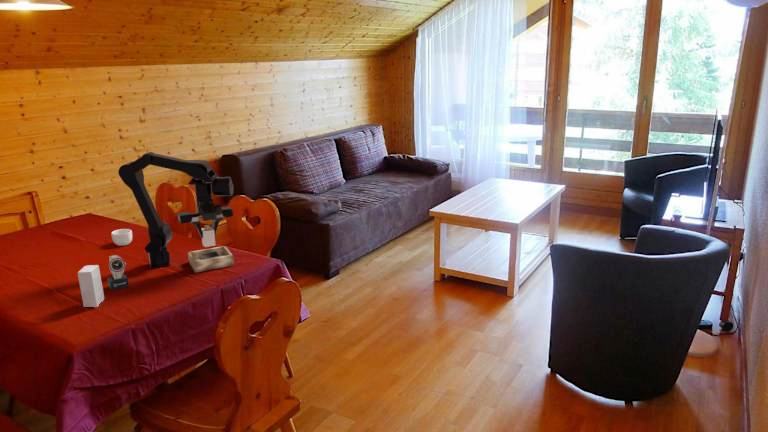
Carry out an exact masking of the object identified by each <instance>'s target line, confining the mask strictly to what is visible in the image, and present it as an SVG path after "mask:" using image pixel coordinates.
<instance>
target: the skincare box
mask: <svg viewBox="0 0 768 432" xmlns="http://www.w3.org/2000/svg"><path fill="white" fill-rule="evenodd" d="M77 277H78V278H77V279H78V282H79V283H78V284H79V288H80V294H81V299H82V304H83V305H82V306H83V308H84V307H94V308H99V306H100V305H101V304H102V303H103V301H104V300H105V294H104V288H103V283H102V277H101V271H100V266H99V264H93V265H91V264H90V265H84V266H83V267H82V268H81V269H80V270H79V271H78V272H77ZM101 302H102V303H101ZM100 303H101V304H100ZM99 304H100V305H99Z"/></svg>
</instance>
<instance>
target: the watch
mask: <svg viewBox="0 0 768 432" xmlns="http://www.w3.org/2000/svg"><path fill="white" fill-rule="evenodd" d="M108 258H109V260H108V261H109V262H108V267H109V270H110V273H111V275H112V276H110V277H107V278H106V279H107V280H106V281H107V284H108V285H107V286H108V288H109V289H110V291H112V290H113V291H116V290H120V289H125V288H129V287H130V285H129V278H128V277H127V275H126V274H124V272H125V269H126V268H125V267H126V265H127V263H126V262H125V261H124V260H123V259H122V257H121V256H119V255H118V254H115V255H109V256H108Z"/></svg>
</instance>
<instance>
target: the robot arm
mask: <svg viewBox="0 0 768 432" xmlns="http://www.w3.org/2000/svg"><path fill="white" fill-rule="evenodd" d="M148 166H153V167H160V168H164V169H169V170H173V171H177V172H182V173H184V174H185V175H187V176H189V177H191V179H190V181H188V183H187V184H188V185H190V186H191V185H194V190H195V191H194V193H195V201H196V211H197V212H195V213H191V212H190V211H189V210H188V211H183V212H181V211H180V212H178V213H177V220H178V222H179V223H180V224H190V223H191V225H194V226H195V228H196V230H197V231H198V234H199V236H200V237H201V239H202V238H203V234H202V226H201V225H202V223H201V221H200V219H201V218H202V221H203V222H208V221H211V222H212V223H211V224H212V225H211V227H212V228H213V229H214V233H215V235H216V234H217V229H218V227H219V224H220V222H221V221H223V220H224V218H232V217H234V210H233V209H232V208H231V207H230V206H229V205H226V206H222V205H221V204H217V205H215V203H214V198H213V195H215V196H216V197H227V196H228V197H232V196H233V195H234V190H235V188H234V184H233V180H232V178H231V176H224V177H223V176H221V177H220V176H218V174H217V173H216V172H215V171H214V170H213V169H212V168H213V167H212V165H211V163H210V162H209V161H207V160H203V159H182V158H178V157H173V156H169V155H163V154H159V153H156V152H155V153H154V151H148V152H146V153H144V154H142V155H141V156H140V157H138V158H137V159H135V160H134V161H130V162H126V163H124V164H122V165H121V166H120V167H119V168H118V171H117V174H118V176H119V177H120V179H121V181H122V182H123V183H124V184H125V186H126V187H128V188H129V189H130V191H131V192H132V194H133V196H134V198H135V201H136V202H137V205H138V207H139V209H140V212H141V214H142V216H143V217H144V219H145V222H146V223H147V224H146V225H147V230H148V233H147V234H148V237H149V242H148V243H147V244H146V245H145V247H144V250H145V252H146V253H147V254H148V260H149V262H148V264H149V266H150V269H156V268H162V267H167V266H168V267H169V266H170V263H171V258H170V257H171V256H170V250H168V248H167V246H168V244H169V242H170V241H171V240H172V238H173V233H174V232H173V230H172V228H171V227H170V223H169V222H164V221H163V220H162V219H161V218H160V216H159V214H158V211H157V209H156V207H155V205H154V203H153V200H152V197H151V196H150V194H149V191H148V189H147V187H146V185H145V176H144V172H143V171H144V169H146V168H147V167H148Z"/></svg>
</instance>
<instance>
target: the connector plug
mask: <svg viewBox="0 0 768 432" xmlns="http://www.w3.org/2000/svg"><path fill="white" fill-rule="evenodd" d="M201 229H202V234H203V238H201V245H202V246H203V247H204V248H208V247H214V246H216V234H215V233H214V229H213V228H212V226H211V225H210V224H204V226H203V228H202V227H201Z"/></svg>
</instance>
